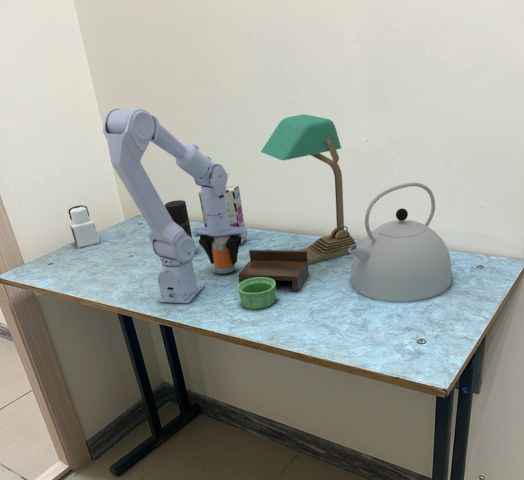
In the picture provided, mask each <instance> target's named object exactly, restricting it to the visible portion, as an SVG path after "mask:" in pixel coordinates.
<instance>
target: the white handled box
mask: <svg viewBox="0 0 524 480" xmlns="http://www.w3.org/2000/svg"><path fill="white" fill-rule="evenodd" d="M67 213H68V216H69V219H70V221H69V222H68V223H69V227H70V230H71V233H72V237H73V240H74V242H75V245H76V246H77V248H78V249H80V248H84V247H88V246H92V245H97V244H100V242H101V241H100V238H99V234H98V231H97V228H96V224H95V221H94V220H93V218H92V217H90V212H89V209H88V207H87V206H86V205H81V204H80V205H74V206H71V207H70V208H69V209H68V211H67Z"/></svg>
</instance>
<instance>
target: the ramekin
mask: <svg viewBox="0 0 524 480" xmlns="http://www.w3.org/2000/svg"><path fill="white" fill-rule="evenodd" d="M276 285H277V283H276V280H273V279H271V278H267V277H256V278H250V279H247V280H244V281H242V282H241V283H239V282H238V285H237V287H236V289H237V292H238V296H239V298H240V299H239V300H240V303H241V305H242V306H243V307H244V308H246V309H249V310H261V309H265V308H268V307H271V306H272V305H273V304H274V303H275V302H276Z"/></svg>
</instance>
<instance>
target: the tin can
mask: <svg viewBox="0 0 524 480" xmlns="http://www.w3.org/2000/svg"><path fill="white" fill-rule="evenodd" d="M228 239H229V238H225V237H224V238H217V239H214V240H212V241H211V249H212V255H213V261H214V264H213V266H214V272H215V273H217V274H223V275H224V274H229V273H232V272H234V271H235V270H236V263H235V264H232V262H231V254H230V250H229V247H228V244H227V240H228Z"/></svg>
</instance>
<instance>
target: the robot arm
mask: <svg viewBox="0 0 524 480" xmlns="http://www.w3.org/2000/svg"><path fill="white" fill-rule="evenodd" d="M102 133H103V135H104V137H105V139H106V141H107V145H108V150H109V151H108V152H109V157H110V162H111V165H112V167H113V169H114V171H115V172H116V174H117V175H118V178H119V179H120V180H121V182H122V184H123V186H124V187H125V189H126V190H127V193H128V194H129V195H130V197H131V199H132V200H133V202H134V204H135V205H136V207H137V209H138V210H139V213H140V214H141V215H142V217H143V219H144V220H145V222H146V224H147V225H148V227H149V228H150V231H149V233H148V238H149V239H150V242H151V248H152V251H153V253H154V254H155V255H156V256H158V258H159V261H160V262H161V270H160V272H159V273H158V276H157V282H158V286H159V290H160V295H161V298H159V303H171V304H172V303H173V304H189V303H191V301H192V300H193V299H194V298H195V297H196V296H197V295H198V294H199V293H200V292H201V290H202V289H203V288H204V285H203V284H197V280H196V275H195V270H194V265H193V260H194V257H195V254H196V251H197V250H196V248H197V246H196V241H195V240H194V238H198V237H199V239H198V244H199V245H200V246H201V248H202V249H203V250H204V252H205V253H206V255H207V257H208V259H209V261H210V265H211V264H213V265H214V261H213V255H212V249H211V241H212V240H214V237H230V238H229V239H228V240H227V244H228V247H229V250H230V254H231V262H232V264H235V265H236V264H237V262H238V255H239V250H240V249H239V248H240V246H241V245H240V242H241V239H242V238H245V237H246V238H247V236H248V229H247V228H248V227H245V228H241V227H234V226H230V223H229V217H228V210H227V203H226V196H225V193H226V187H227V183H228V179H229V173H227V171H226V169H225V168H224V166H223V165H222V164H220V163H214V161H213V160H212V158H211V157H210V156H207V155H205V154H204V153H202V152H201V151H200V150H199V149H200V147H199V146H198V145H197V144H190V143H189V144H185V145H184V143H182V142H181V141H180V140H179V139H178V138H177V137H176V136H174V135H173V134H172V133H171V131H169V130H168V129H167V128H166V127H165V126H164V125H162V124H161V123H160V122H159V119H158V117H156V116H154V115H153V114H151V113H150V112H149V111H148V110H147V109H143V108H138V109H137V108H136V109H119V108H113V109H111V110H110V111H108V112H107V114H106V115H105V118H104V122H103V127H102ZM150 142H151V143H153V144H154V145H155V146H157V147H159V148H160V149H162V151H165V152H166V153H167V154H169V155H171V156H172V157H174V158H175V163H176V165H177V167H179V168H180V169H181V170H182V171H183V172H185V173H187V174H188V175H189V176H191V177H192V178H193V181H194V183H195V185H196V186H199V187H200V191H202V197H203V203H204V209H205V215H206V221H207V227H205V226H203V227H202V226H201V227H195V228H193V229H192V230H191V233H192V238H191V237H190V236H188V235H187V234H186V233H185V231H184V229H183V228H181V227H180V226H179V225H177V224H176V223H175V222H174V221H173V220H172V218H171V216H170V215H169V213H168V211H167V209H166V207H165V203H164V202H163V200H162V199H161V197H160V195H159V193H158V191H157V190H156V187H155V186H154V184H153V183H152V181H151V178H150V177H149V175H148V174H147V172H146V170H145V168H144V166H143V164H142V163H141V160H142V157H143V156H144V154H145V152H146V150H147V148H148V147H149V145H150Z"/></svg>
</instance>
